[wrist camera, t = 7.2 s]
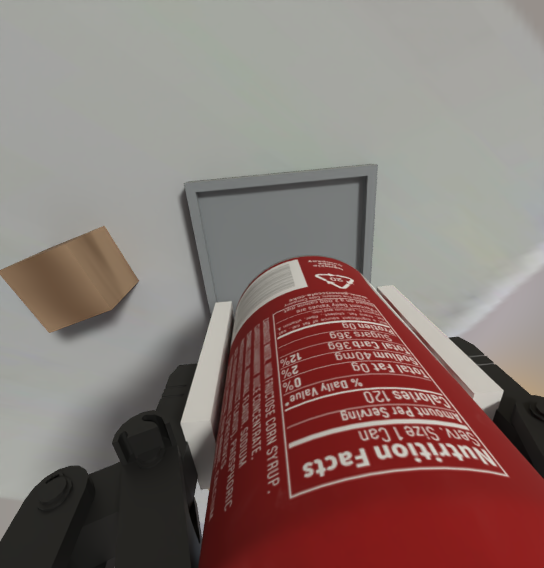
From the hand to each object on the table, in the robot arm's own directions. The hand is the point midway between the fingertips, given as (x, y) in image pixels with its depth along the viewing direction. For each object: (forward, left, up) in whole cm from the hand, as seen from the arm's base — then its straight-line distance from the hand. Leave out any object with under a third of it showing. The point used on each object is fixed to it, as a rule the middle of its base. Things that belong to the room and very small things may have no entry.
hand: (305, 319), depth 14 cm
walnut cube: (-14, +1, -9) cm, 17 cm away
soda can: (0, 0, -1) cm, 1 cm away
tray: (0, 0, -9) cm, 9 cm away
